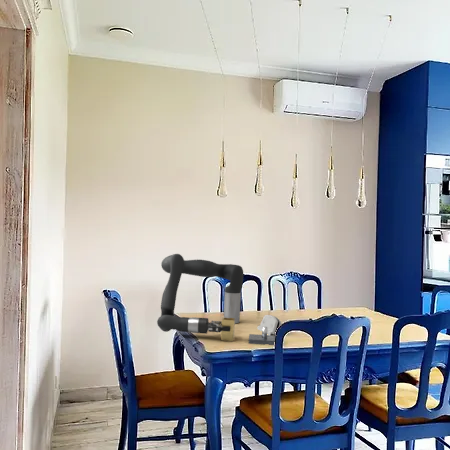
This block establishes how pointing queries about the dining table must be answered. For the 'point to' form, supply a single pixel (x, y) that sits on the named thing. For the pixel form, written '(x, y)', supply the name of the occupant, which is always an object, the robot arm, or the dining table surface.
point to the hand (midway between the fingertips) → (230, 327)
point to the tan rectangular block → (225, 334)
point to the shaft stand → (262, 338)
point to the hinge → (270, 324)
